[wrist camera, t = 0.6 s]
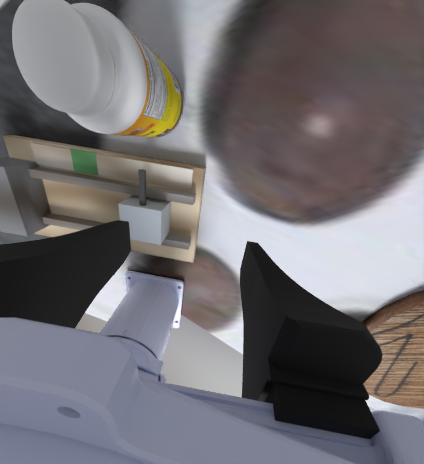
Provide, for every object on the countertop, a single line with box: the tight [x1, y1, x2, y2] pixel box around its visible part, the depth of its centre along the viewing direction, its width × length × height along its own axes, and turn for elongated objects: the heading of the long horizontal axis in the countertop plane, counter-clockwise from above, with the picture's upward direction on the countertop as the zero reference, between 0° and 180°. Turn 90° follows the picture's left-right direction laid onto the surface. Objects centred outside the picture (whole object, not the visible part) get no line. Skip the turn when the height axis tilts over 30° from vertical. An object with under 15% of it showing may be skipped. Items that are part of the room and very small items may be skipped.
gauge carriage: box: [118, 169, 171, 245], centre depth 19 cm, size 7×4×3 cm, turn 172°
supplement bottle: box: [12, 0, 184, 137], centre depth 13 cm, size 6×6×10 cm
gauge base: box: [0, 135, 206, 262], centre depth 20 cm, size 11×20×4 cm, turn 82°
